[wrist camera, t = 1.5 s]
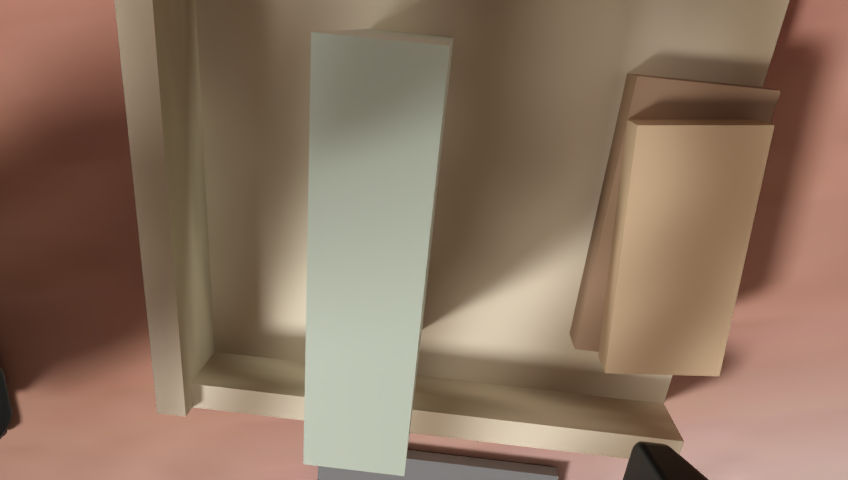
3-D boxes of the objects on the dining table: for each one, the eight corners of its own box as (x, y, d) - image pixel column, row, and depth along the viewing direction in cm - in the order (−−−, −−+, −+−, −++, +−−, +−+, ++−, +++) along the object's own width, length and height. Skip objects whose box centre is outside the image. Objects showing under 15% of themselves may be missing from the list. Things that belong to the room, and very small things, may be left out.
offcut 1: (569, 333, 20) (575, 349, 19) (627, 73, 16) (637, 76, 15) (681, 346, 20) (692, 362, 19) (762, 87, 16) (780, 91, 15)
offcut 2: (598, 356, 19) (605, 373, 18) (627, 119, 16) (637, 125, 15) (706, 358, 19) (719, 376, 18) (755, 119, 16) (774, 125, 15)
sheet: (354, 321, 20) (303, 464, 14) (370, 28, 16) (310, 32, 10) (422, 329, 20) (404, 476, 14) (454, 37, 16) (449, 46, 10)
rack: (201, 356, 22) (157, 413, 19) (171, -101, 16) (100, -132, 13) (648, 408, 22) (681, 475, 19) (783, -41, 16) (866, -58, 13)
